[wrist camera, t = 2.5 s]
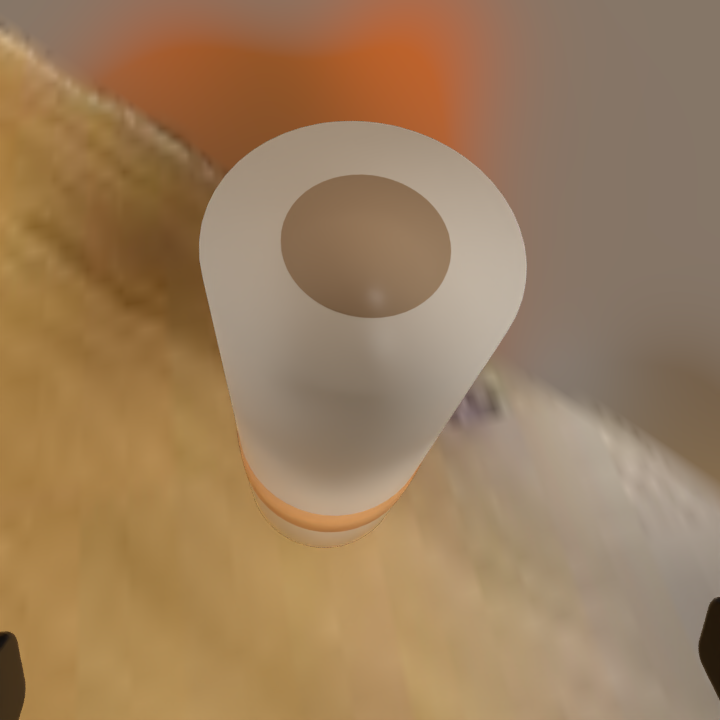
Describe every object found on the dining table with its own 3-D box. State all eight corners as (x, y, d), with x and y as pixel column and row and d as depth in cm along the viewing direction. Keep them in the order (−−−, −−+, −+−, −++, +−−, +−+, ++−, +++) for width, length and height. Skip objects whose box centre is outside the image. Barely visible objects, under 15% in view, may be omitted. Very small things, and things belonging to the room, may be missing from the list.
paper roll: (429, 495, 21) (597, 295, 10) (298, 581, 20) (309, 466, 8) (348, 376, 23) (408, 79, 11) (220, 446, 21) (135, 186, 10)
